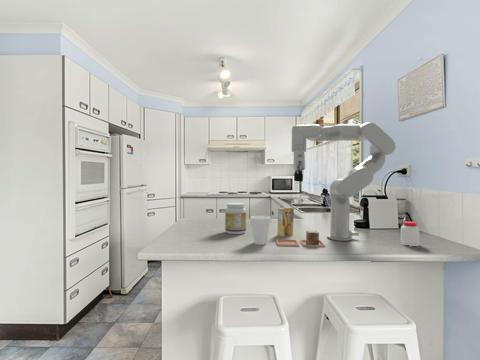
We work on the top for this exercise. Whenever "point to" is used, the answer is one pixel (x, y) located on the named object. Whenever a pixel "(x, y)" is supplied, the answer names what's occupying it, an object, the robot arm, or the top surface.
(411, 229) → the pill bottle
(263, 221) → the cup
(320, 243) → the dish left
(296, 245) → the dish middle
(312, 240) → the letter block
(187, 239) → the top surface
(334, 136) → the robot arm
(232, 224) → the supplement tub
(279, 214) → the candy box
